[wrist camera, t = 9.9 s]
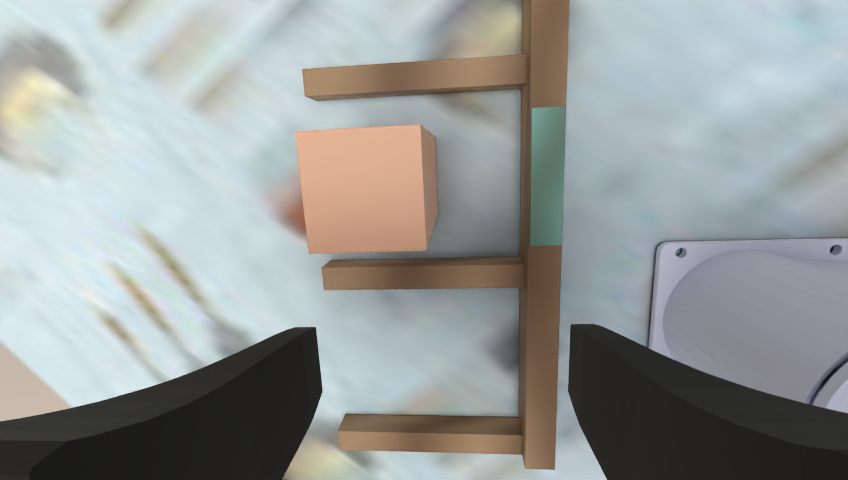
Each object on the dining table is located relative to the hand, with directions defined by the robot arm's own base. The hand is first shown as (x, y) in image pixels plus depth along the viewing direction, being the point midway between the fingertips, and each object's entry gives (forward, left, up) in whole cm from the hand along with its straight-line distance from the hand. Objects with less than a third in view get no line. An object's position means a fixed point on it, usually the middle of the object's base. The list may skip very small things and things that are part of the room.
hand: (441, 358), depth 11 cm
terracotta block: (+3, -4, -10) cm, 12 cm away
